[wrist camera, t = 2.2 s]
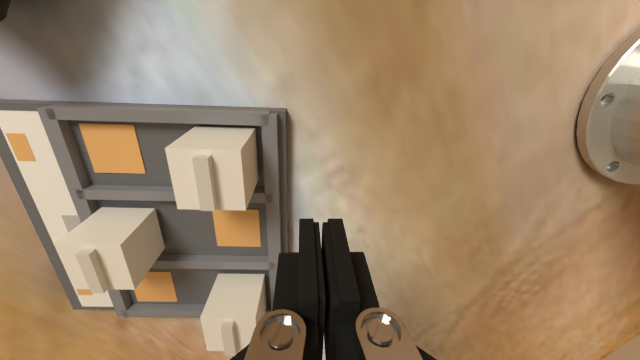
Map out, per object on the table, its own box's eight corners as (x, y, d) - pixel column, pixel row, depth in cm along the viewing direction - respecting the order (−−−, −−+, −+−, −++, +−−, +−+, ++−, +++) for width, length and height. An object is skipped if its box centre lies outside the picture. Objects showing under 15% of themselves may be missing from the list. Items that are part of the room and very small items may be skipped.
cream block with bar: (255, 127, 19) (237, 153, 15) (258, 178, 21) (243, 216, 16) (195, 126, 19) (159, 151, 15) (203, 177, 21) (172, 214, 16)
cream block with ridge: (155, 208, 22) (114, 251, 17) (164, 247, 23) (129, 296, 19) (101, 207, 22) (45, 250, 17) (115, 247, 23) (67, 296, 19)
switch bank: (286, 108, 20) (284, 114, 18) (289, 302, 28) (287, 317, 27) (-10, 99, 19) (-40, 104, 18) (81, 300, 28) (66, 316, 26)
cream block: (264, 274, 25) (253, 324, 20) (266, 305, 27) (257, 358, 22) (218, 273, 25) (197, 324, 20) (223, 304, 26) (204, 358, 22)
